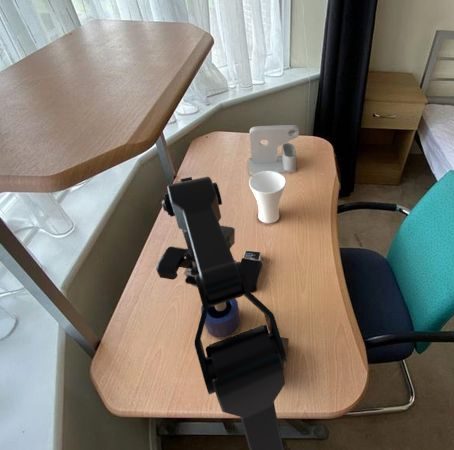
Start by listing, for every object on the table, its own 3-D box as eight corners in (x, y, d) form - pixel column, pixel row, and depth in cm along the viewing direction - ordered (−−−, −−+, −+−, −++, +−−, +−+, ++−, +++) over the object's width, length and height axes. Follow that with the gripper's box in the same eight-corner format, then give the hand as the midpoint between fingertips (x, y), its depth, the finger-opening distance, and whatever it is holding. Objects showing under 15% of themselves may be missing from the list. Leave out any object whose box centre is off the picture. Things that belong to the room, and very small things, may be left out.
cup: (251, 205, 104) (248, 171, 95) (284, 204, 105) (284, 170, 96) (252, 229, 97) (248, 194, 87) (287, 227, 98) (287, 192, 89)
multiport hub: (261, 256, 89) (261, 251, 88) (254, 290, 82) (253, 285, 80) (245, 255, 90) (245, 250, 88) (237, 288, 82) (236, 283, 80)
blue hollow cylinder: (234, 340, 72) (231, 326, 68) (200, 334, 73) (195, 320, 68) (244, 310, 78) (242, 295, 73) (213, 304, 78) (208, 289, 74)
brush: (224, 312, 69) (217, 283, 61) (213, 310, 69) (205, 281, 62) (227, 302, 71) (221, 273, 63) (217, 300, 71) (209, 271, 63)
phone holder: (293, 156, 125) (295, 112, 113) (297, 172, 118) (299, 126, 106) (248, 159, 123) (244, 114, 110) (249, 175, 116) (245, 129, 103)
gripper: (269, 218, 60) (271, 269, 71) (173, 204, 62) (189, 256, 73) (252, 265, 52) (258, 314, 63) (143, 247, 54) (167, 298, 65)
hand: (217, 293), depth 66 cm, fingers closed on brush, 1 cm apart
